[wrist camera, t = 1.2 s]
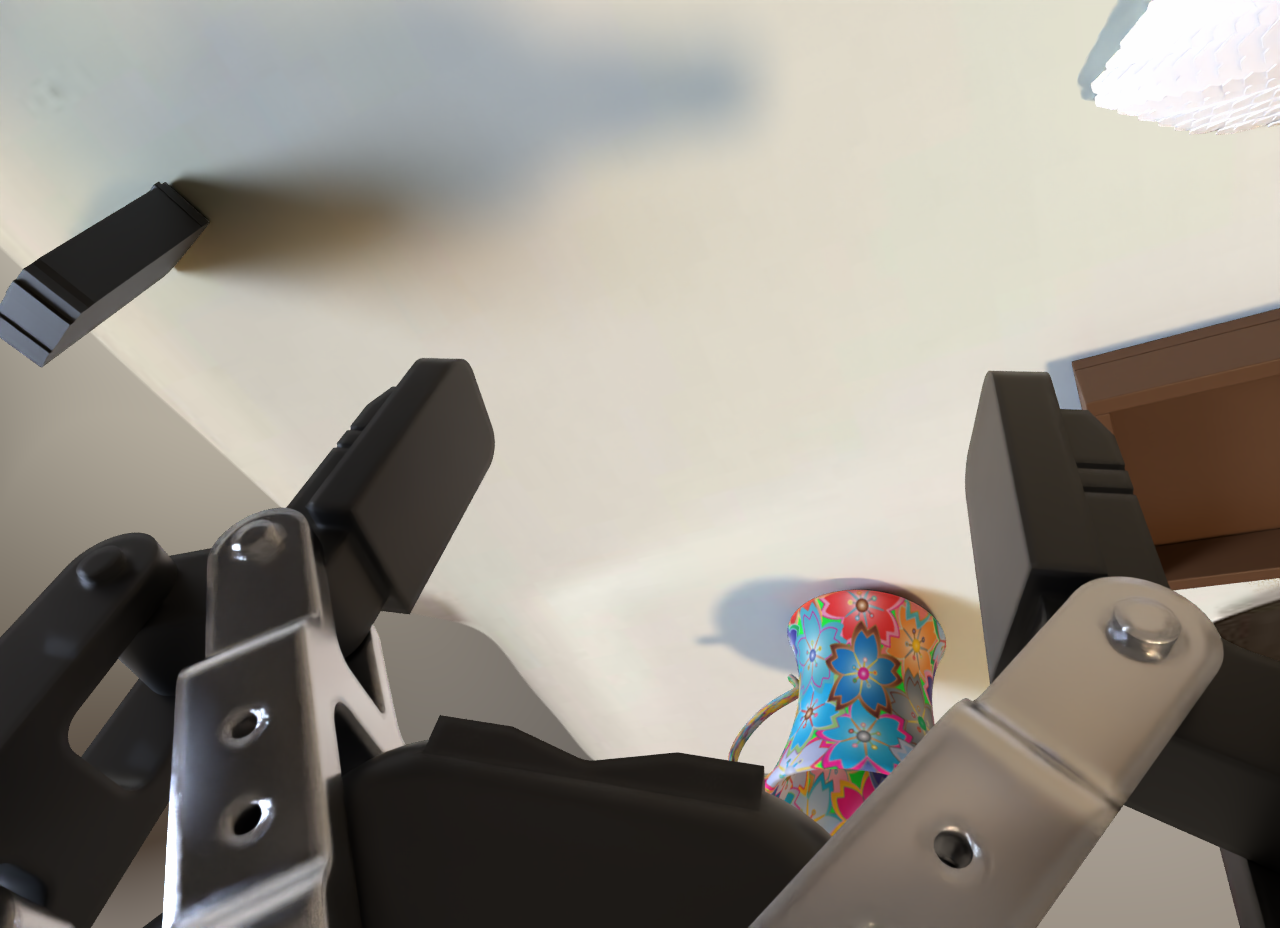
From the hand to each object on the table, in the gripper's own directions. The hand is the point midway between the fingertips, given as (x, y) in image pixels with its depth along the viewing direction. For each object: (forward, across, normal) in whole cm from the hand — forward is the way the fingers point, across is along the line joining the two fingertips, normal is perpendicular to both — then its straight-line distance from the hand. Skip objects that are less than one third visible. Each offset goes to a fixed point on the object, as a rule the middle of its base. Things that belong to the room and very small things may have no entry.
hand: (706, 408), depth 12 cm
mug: (+17, -3, +30) cm, 34 cm away
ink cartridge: (+17, +28, +4) cm, 33 cm away
